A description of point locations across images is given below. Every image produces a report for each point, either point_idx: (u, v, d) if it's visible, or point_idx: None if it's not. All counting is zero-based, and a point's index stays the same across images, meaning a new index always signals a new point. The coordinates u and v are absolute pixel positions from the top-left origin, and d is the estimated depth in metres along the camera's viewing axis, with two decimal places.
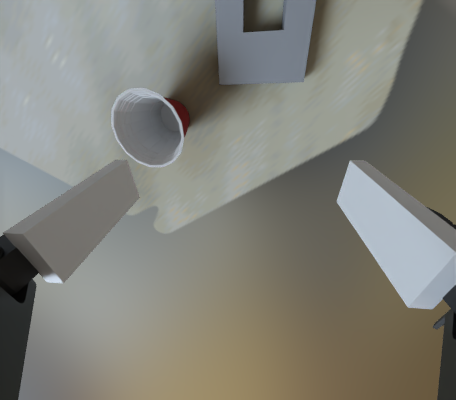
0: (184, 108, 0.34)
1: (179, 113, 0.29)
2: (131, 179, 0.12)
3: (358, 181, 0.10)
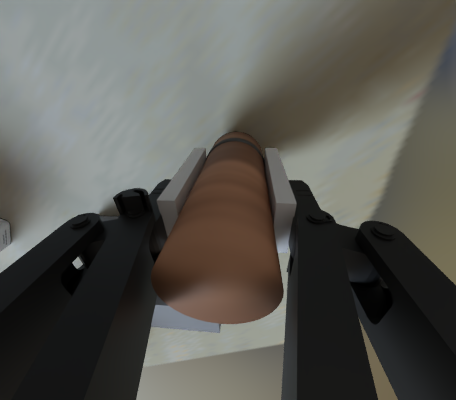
0: None
1: None
2: None
3: (266, 164, 0.12)
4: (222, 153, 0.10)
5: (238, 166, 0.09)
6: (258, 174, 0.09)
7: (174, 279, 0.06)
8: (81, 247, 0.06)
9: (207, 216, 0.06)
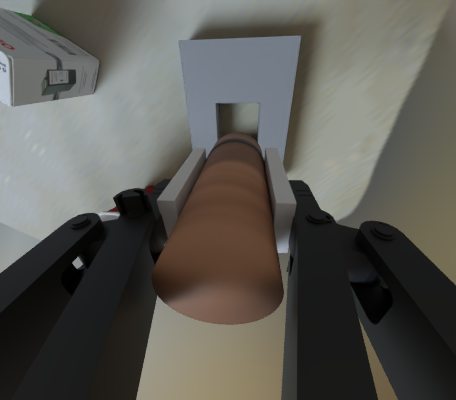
0: None
1: None
2: None
3: (265, 164, 0.12)
4: (222, 153, 0.10)
5: (238, 166, 0.09)
6: (258, 175, 0.09)
7: (174, 280, 0.06)
8: (81, 247, 0.06)
9: (208, 217, 0.06)
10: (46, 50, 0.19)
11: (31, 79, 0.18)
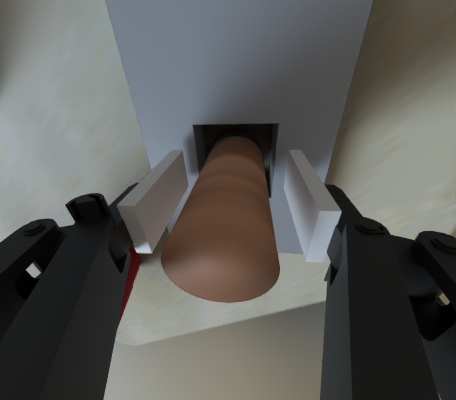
0: None
1: None
2: (184, 168, 0.13)
3: (291, 167, 0.11)
4: (223, 148, 0.11)
5: (238, 160, 0.10)
6: (257, 168, 0.10)
7: (182, 258, 0.06)
8: (36, 253, 0.06)
9: (212, 202, 0.06)
10: None
11: None
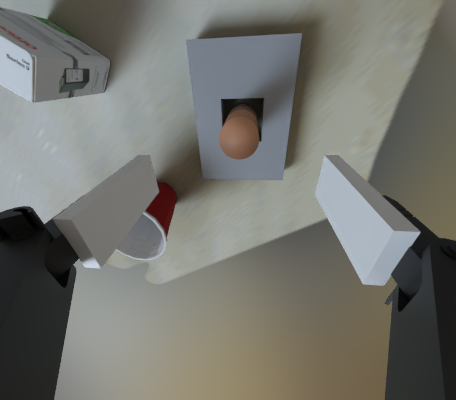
0: (170, 192, 0.36)
1: (163, 212, 0.30)
2: (152, 174, 0.13)
3: (330, 174, 0.10)
4: (237, 108, 0.24)
5: (244, 110, 0.22)
6: (253, 115, 0.23)
7: (226, 135, 0.19)
8: None
9: (236, 116, 0.19)
10: (64, 50, 0.21)
11: (50, 76, 0.20)
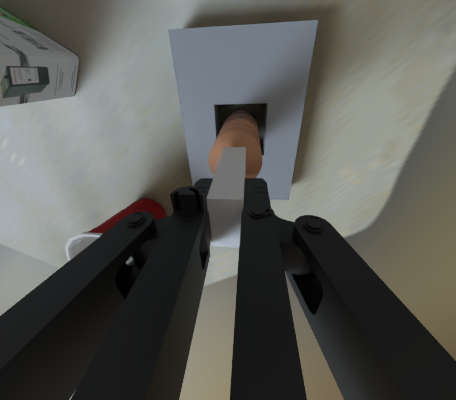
0: (158, 211, 0.31)
1: None
2: None
3: None
4: (234, 117, 0.19)
5: (243, 120, 0.17)
6: (253, 126, 0.18)
7: (218, 156, 0.14)
8: (135, 247, 0.06)
9: (232, 131, 0.14)
10: (6, 43, 0.16)
11: None
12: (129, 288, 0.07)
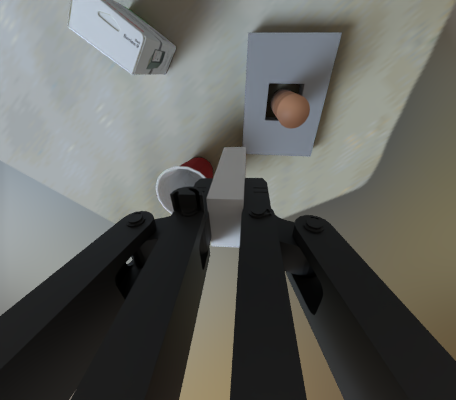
0: (210, 166, 0.41)
1: None
2: None
3: None
4: (284, 91, 0.29)
5: None
6: None
7: (284, 108, 0.25)
8: (135, 247, 0.06)
9: (292, 94, 0.25)
10: (154, 35, 0.26)
11: (147, 54, 0.25)
12: (129, 288, 0.07)
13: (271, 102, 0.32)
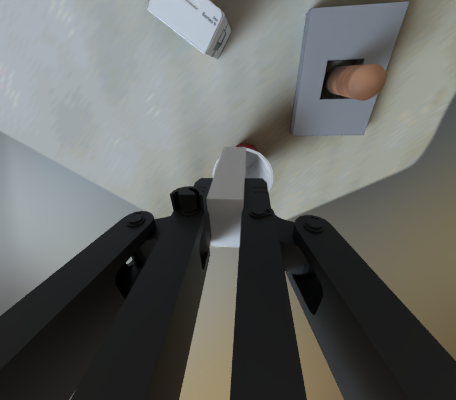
0: None
1: (264, 161, 0.36)
2: None
3: None
4: (346, 66, 0.29)
5: None
6: None
7: (359, 79, 0.24)
8: (135, 247, 0.06)
9: (366, 64, 0.25)
10: None
11: (218, 34, 0.25)
12: (129, 288, 0.07)
13: (328, 80, 0.32)
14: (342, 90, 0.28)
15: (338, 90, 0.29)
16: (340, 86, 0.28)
